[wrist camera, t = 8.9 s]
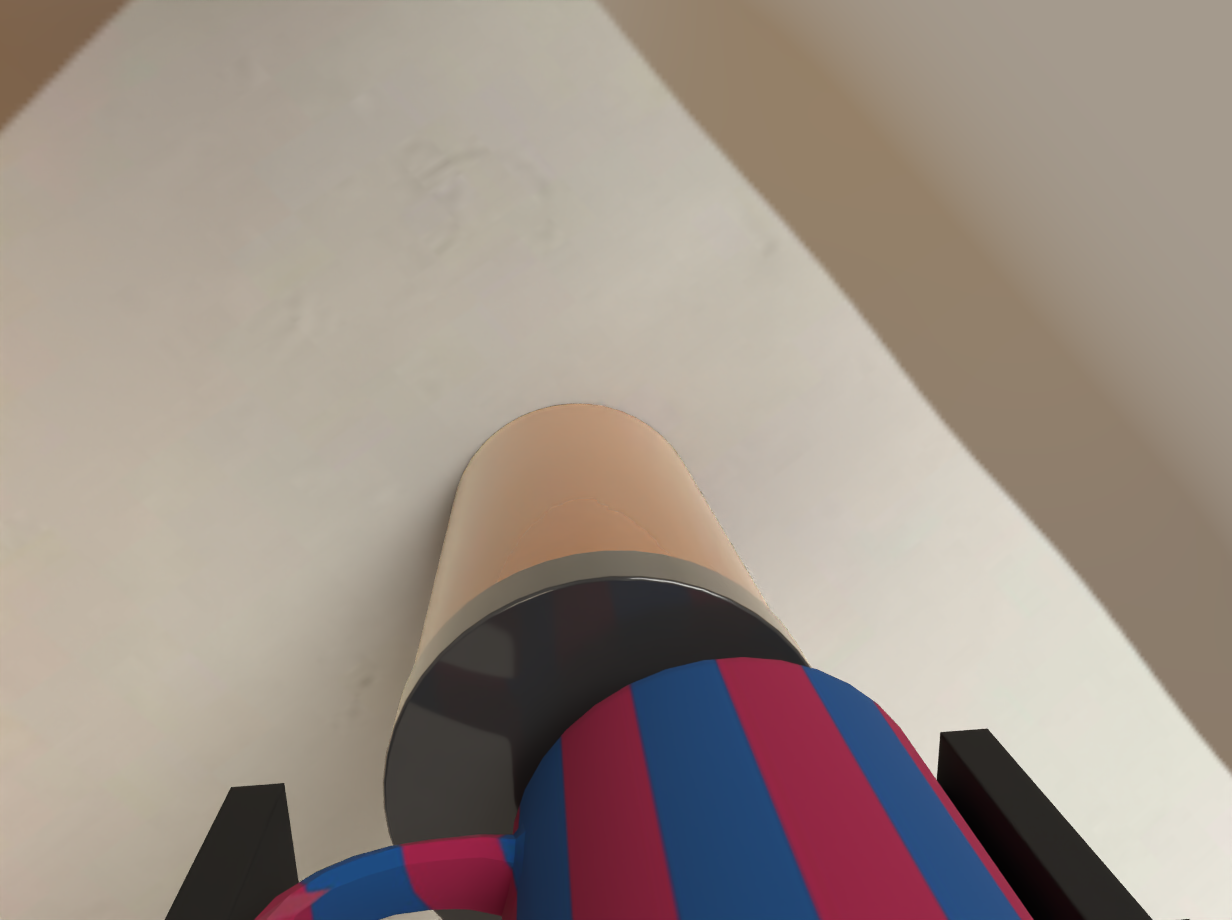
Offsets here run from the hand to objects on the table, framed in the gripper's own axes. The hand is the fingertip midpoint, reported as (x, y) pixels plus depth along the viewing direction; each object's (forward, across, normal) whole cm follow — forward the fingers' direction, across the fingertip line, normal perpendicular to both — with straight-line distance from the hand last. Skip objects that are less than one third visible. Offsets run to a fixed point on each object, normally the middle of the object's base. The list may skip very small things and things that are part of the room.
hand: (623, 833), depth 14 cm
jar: (+14, 0, 0) cm, 14 cm away
